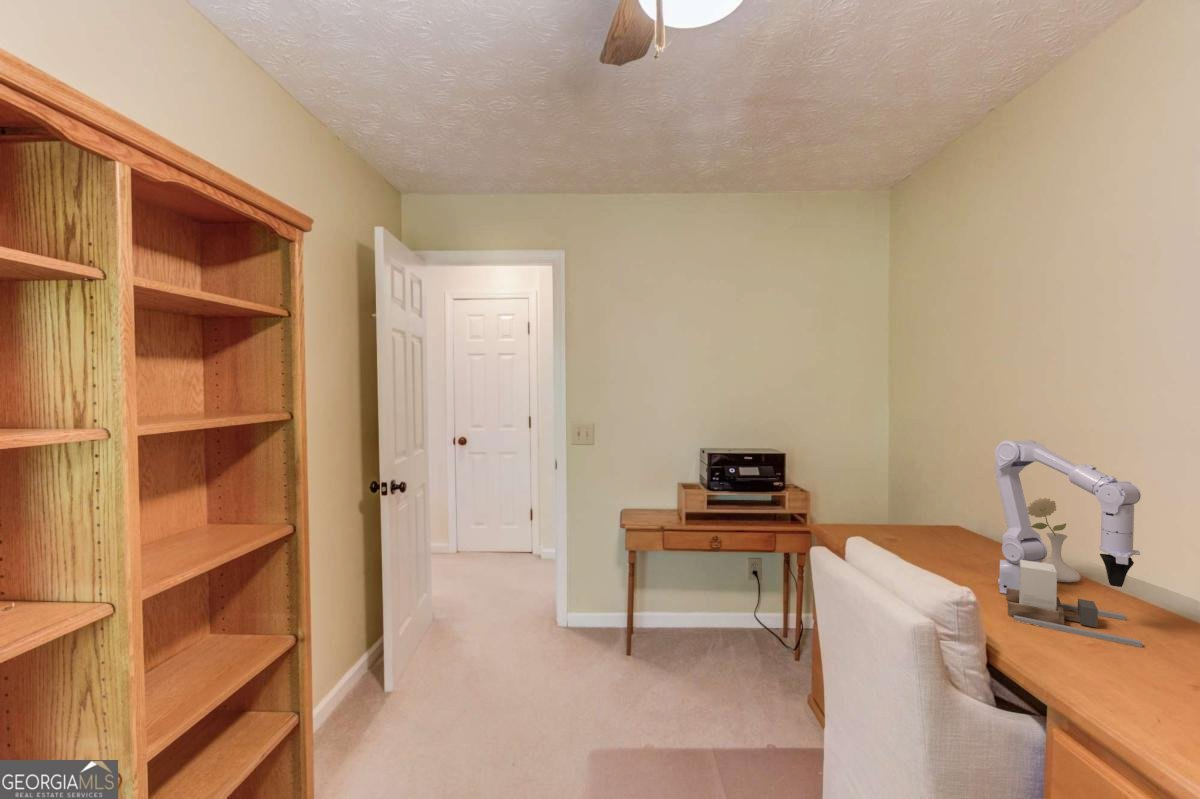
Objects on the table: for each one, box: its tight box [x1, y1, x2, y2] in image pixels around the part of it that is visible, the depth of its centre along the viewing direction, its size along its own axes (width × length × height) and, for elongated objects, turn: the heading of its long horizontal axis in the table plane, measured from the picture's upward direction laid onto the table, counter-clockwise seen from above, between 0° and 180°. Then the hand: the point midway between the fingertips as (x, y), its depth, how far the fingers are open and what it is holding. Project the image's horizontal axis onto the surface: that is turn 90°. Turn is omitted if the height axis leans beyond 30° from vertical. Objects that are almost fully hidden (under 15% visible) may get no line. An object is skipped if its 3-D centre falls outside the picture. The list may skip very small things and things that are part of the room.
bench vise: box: [1005, 588, 1099, 628], centre depth 137 cm, size 18×13×4 cm
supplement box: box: [1018, 560, 1058, 611], centre depth 139 cm, size 7×7×13 cm
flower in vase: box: [1027, 497, 1082, 583], centre depth 163 cm, size 13×11×25 cm
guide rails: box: [1013, 602, 1143, 648], centre depth 134 cm, size 23×19×1 cm
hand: (1115, 585), depth 130 cm, fingers closed
